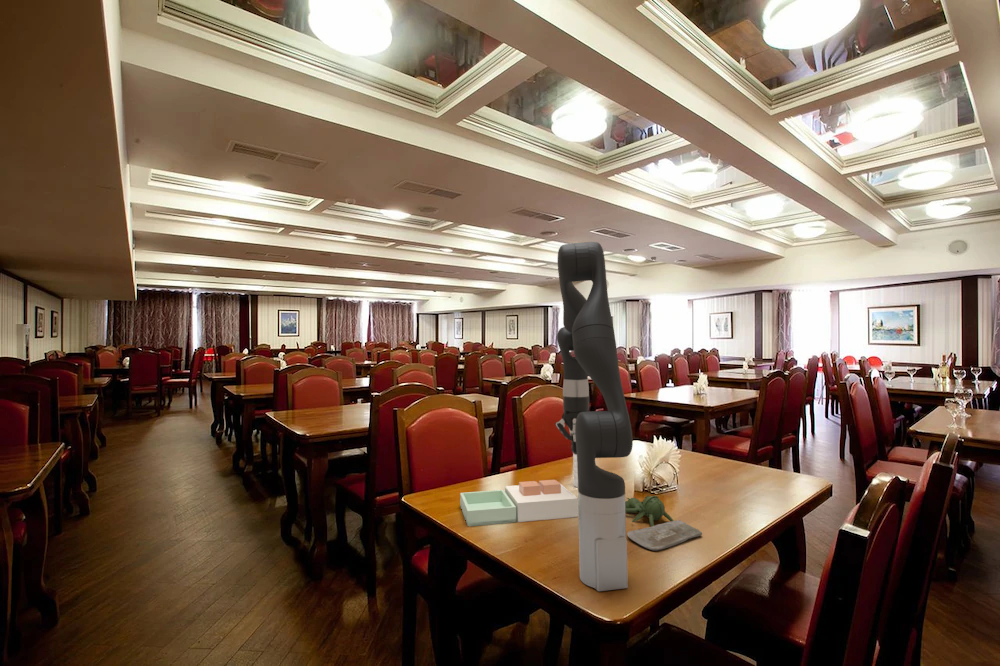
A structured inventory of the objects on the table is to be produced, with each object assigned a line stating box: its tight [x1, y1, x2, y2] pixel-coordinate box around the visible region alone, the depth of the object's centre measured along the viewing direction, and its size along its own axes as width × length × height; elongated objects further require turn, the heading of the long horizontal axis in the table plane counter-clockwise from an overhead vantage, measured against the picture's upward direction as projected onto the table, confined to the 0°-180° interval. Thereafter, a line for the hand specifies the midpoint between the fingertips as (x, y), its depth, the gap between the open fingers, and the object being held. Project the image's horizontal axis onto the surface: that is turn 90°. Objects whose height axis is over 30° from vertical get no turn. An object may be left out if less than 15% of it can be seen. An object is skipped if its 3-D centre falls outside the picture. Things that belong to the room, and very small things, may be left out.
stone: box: [626, 519, 703, 552], centre depth 114 cm, size 18×3×10 cm
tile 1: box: [518, 480, 541, 496], centre depth 134 cm, size 5×5×2 cm
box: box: [459, 489, 517, 527], centre depth 131 cm, size 16×13×4 cm
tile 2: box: [538, 479, 561, 494], centre depth 135 cm, size 5×5×2 cm
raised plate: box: [504, 483, 579, 523], centre depth 134 cm, size 16×17×5 cm
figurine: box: [625, 494, 675, 527], centre depth 129 cm, size 11×8×19 cm
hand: (576, 453), depth 137 cm, fingers closed
